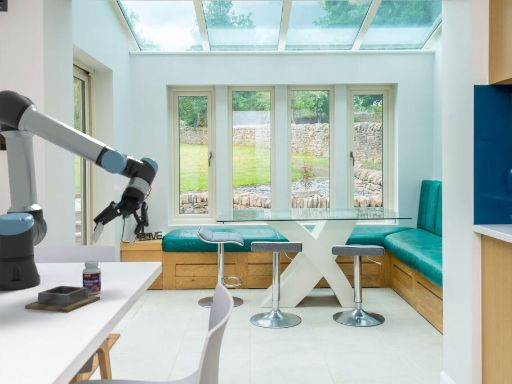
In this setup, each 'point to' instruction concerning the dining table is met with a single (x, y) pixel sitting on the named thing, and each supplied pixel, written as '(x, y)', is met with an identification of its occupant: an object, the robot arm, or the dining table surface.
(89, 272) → the pill bottle
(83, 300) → the square framed tray
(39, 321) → the dining table surface
